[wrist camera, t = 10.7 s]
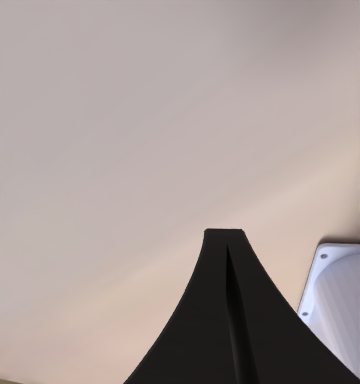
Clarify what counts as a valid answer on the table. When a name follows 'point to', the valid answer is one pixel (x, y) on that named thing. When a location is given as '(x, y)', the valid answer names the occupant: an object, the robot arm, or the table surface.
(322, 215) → the table surface
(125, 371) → the table surface
